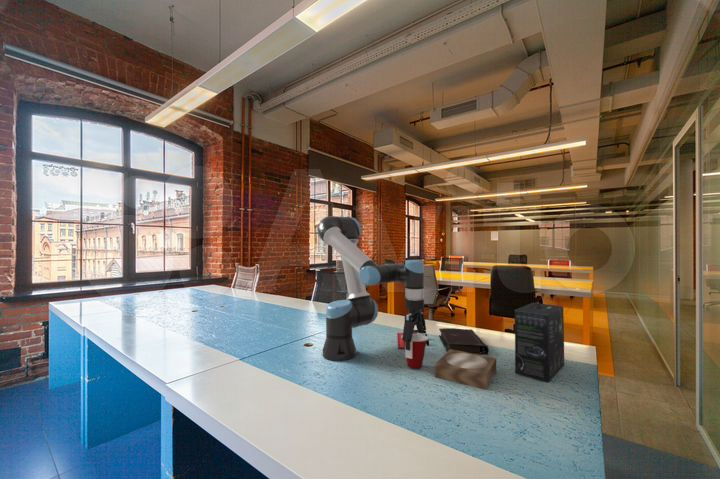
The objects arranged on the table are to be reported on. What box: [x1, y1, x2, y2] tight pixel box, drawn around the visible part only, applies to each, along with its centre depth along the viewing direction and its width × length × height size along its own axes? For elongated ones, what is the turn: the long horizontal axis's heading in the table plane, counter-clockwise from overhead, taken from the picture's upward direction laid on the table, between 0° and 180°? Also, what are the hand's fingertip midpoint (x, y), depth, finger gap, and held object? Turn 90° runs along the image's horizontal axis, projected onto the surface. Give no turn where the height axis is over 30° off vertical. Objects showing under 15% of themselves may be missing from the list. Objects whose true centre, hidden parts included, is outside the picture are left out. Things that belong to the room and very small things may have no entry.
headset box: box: [514, 301, 565, 383], centre depth 121 cm, size 22×12×26 cm, turn 134°
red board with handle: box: [396, 329, 430, 350], centre depth 159 cm, size 30×3×15 cm
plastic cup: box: [401, 334, 429, 369], centre depth 125 cm, size 11×11×12 cm
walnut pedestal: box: [434, 349, 497, 390], centre depth 117 cm, size 18×18×5 cm
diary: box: [438, 327, 490, 356], centre depth 150 cm, size 19×25×5 cm
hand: (414, 353), depth 124 cm, fingers closed on plastic cup, 11 cm apart
